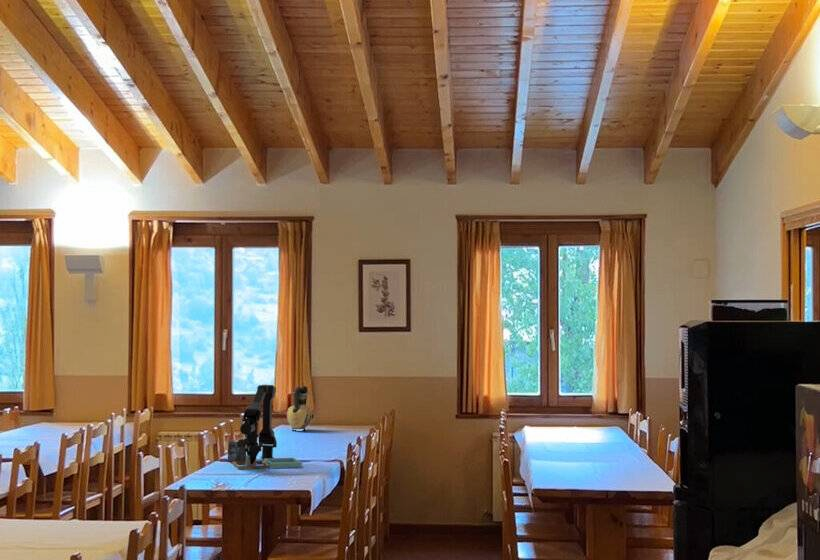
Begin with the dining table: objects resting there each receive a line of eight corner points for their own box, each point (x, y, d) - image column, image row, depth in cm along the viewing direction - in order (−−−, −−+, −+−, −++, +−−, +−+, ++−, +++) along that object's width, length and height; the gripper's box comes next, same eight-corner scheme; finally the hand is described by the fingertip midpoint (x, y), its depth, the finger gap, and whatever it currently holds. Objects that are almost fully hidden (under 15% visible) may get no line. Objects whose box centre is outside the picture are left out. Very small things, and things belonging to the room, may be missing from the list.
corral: (232, 464, 445) (232, 461, 445) (262, 463, 451) (262, 460, 451) (238, 469, 431) (238, 466, 431) (269, 468, 437) (269, 465, 437)
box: (227, 461, 453) (228, 441, 454) (234, 460, 458) (235, 440, 459) (238, 463, 449) (239, 442, 450) (246, 462, 454) (246, 441, 455)
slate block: (245, 465, 442) (245, 455, 442) (254, 465, 444) (254, 455, 444) (247, 466, 438) (247, 456, 438) (256, 466, 440) (256, 456, 440)
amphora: (306, 433, 579) (308, 387, 581) (282, 431, 582) (284, 386, 584) (314, 430, 597) (316, 386, 598) (290, 428, 600) (292, 385, 601)
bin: (264, 463, 451) (264, 458, 452) (293, 462, 457) (293, 457, 457) (271, 468, 437) (271, 463, 437) (301, 467, 443) (301, 462, 443)
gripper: (232, 430, 447) (231, 460, 447) (239, 435, 430) (238, 466, 429) (254, 429, 452) (252, 460, 451) (262, 434, 434) (260, 466, 434)
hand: (250, 463), depth 441 cm, fingers closed on slate block, 4 cm apart
